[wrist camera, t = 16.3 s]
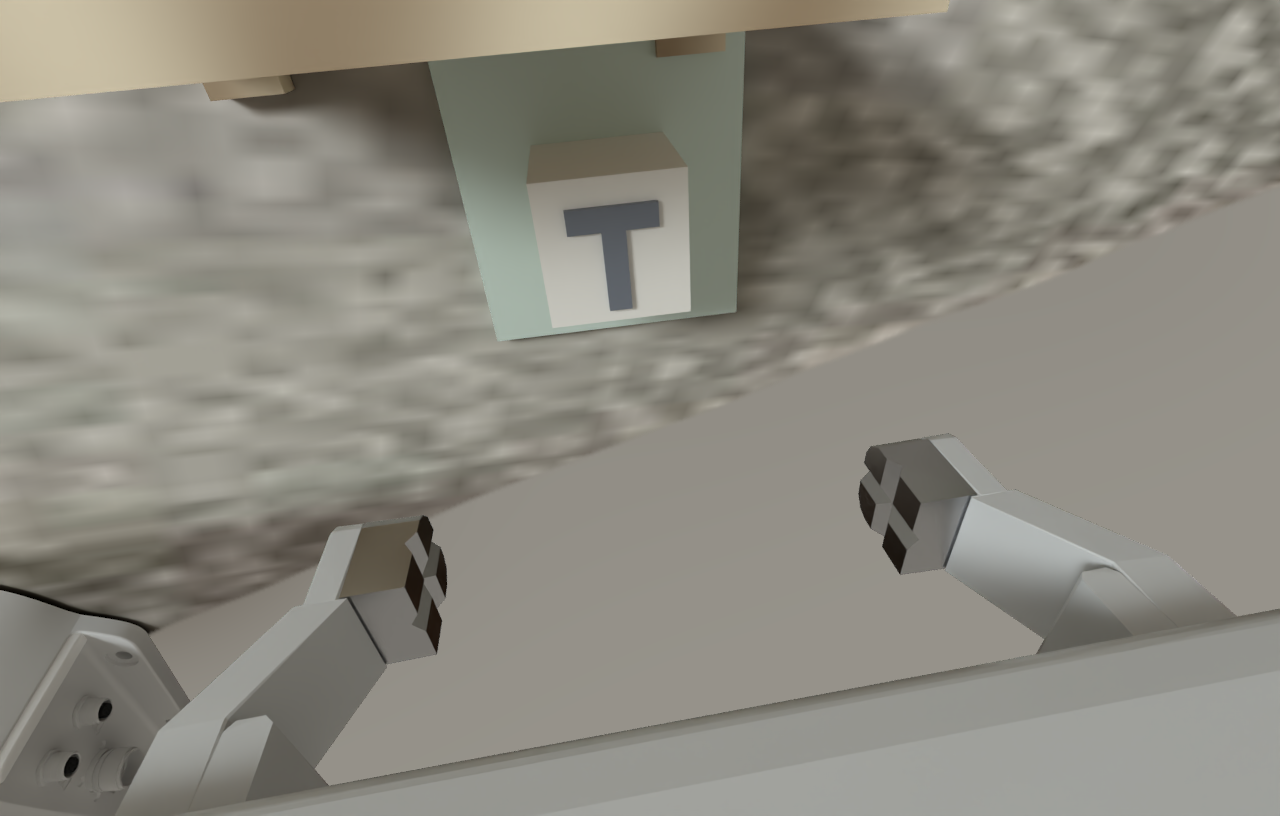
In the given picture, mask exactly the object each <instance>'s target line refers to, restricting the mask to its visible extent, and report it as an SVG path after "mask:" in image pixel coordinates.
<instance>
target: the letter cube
mask: <svg viewBox="0 0 1280 816" xmlns="http://www.w3.org/2000/svg"><path fill="white" fill-rule="evenodd" d="M526 186H527V191H528V197H529V202H530V208H531V213H532V219H533V224H534V230H535V235H536V241H537V246H538V252H539V257H540V263H541V268H542V273H543V279H544V284H545V290H546V295H547V301H548V306H549V312H550V317H551V323H552V328H558V327H567V326H575V325H583V324H591V323H599V322H607V321H616V320H624V319H632V318H640V317H648V316H656V315H665V314H673V313H681V312H689V311H691V295H690V244H689V194H688V166H687V165H686V163H685V162H684V160H683V159H682V158H681V156H680V155H679V153H678V152H677V151H676V149H675V148H674V146H673V145H672V144H671V142H670V141H669V139H668V138H667V137H666V135H665V134H664V132H655V133H646V134H636V135H626V136H617V137H607V138H598V139H588V140H579V141H569V142H560V143H550V144H540V145H531V146H530V154H529V163H528V173H527V182H526Z"/></svg>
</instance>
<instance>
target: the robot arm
mask: <svg viewBox="0 0 1280 816" xmlns="http://www.w3.org/2000/svg"><path fill="white" fill-rule="evenodd" d="M864 463H865V465H866V466H867V468H868V469H869V472H868V473H867V474H866V475H865V476H864V477H863V479H862V480H861V481H860V487H859V493H858V494H859V501H860V508H861V510H862V513H863V516H864V518H865V520H866V522H867V523H868V525H869V527H870V528H871V529H872V530H874V531H876V532H878V533H879V534H881V535H883V536H884V540H883V545H882V547H883V549H884V550H885V552H886V553H887V555H888V557H889V558H890V560H891V561H892V563H893V564H894V566H895V568H896V569H897V571H898V572H899V574H900V575H902V574H909V573H916V572H923V571H930V570H937V569H944V568H946V569H945V571H946V572H948V573H949V574H950V575H952V576H954V577H955V578H956V579H958V580H959V581H961V582H962V583H964V584H965V585H966V586H968V587H969V588H971V589H973V590H974V591H975V592H977V593H978V594H979V595H981V596H982V597H984V598H985V599H987V600H988V601H990V602H991V603H993V604H994V605H996V606H997V607H999V608H1000V609H1001V610H1003V611H1004V612H1006V613H1007V614H1009V615H1010V616H1011V617H1013V618H1014V619H1016V620H1017V621H1019V622H1020V623H1022V624H1023V625H1024V626H1026V627H1027V628H1029V629H1030V630H1032V631H1033V632H1035V633H1036V634H1038V635H1039V636H1040V637H1042V638H1044V641H1043V643H1042V645H1041V646H1040V648H1039V650H1038V652H1037V653H1036V654H1035V655H1030V656H1025V657H1019V658H1013V659H1008V660H1003V661H997V662H992V663H986V664H981V665H976V666H970V667H965V668H960V669H954V670H949V671H944V672H938V673H933V674H927V675H922V676H917V677H911V678H906V679H901V680H895V681H890V682H885V683H880V684H874V685H869V686H864V687H858V688H852V689H848V690H842V691H837V692H831V693H826V694H821V695H815V696H809V697H805V698H799V699H794V700H788V701H783V702H777V703H772V704H766V705H761V706H756V707H750V708H745V709H740V710H734V711H729V712H723V713H718V714H713V715H707V716H702V717H697V718H691V719H686V720H680V721H675V722H670V723H665V724H659V725H654V726H648V727H643V728H637V729H632V730H627V731H621V732H616V733H611V734H605V735H600V736H594V737H589V738H584V739H578V740H573V741H567V742H562V743H557V744H552V745H546V746H541V747H535V748H530V749H525V750H519V751H514V752H509V753H503V754H498V755H492V756H487V757H482V758H476V759H471V760H465V761H460V762H455V763H449V764H444V765H439V766H433V767H428V768H422V769H417V770H412V771H406V772H401V773H396V774H390V775H385V776H380V777H374V778H369V779H364V780H358V781H353V782H347V783H342V784H337V785H331V786H329V785H328V784H327V783H326V782H325V781H324V780H323V778H322V777H321V776H320V775H319V774H318V773H317V772H316V771H315V767H316V766H317V764H318V763H319V761H320V760H321V759H322V757H323V756H324V755H325V753H326V752H327V750H328V749H329V748H330V746H331V745H332V743H333V742H334V741H335V739H336V738H337V736H338V735H339V734H340V732H341V731H342V729H343V728H344V726H345V725H346V724H347V722H348V721H349V720H350V718H351V717H352V715H353V714H354V713H355V711H356V710H357V708H358V707H359V705H360V704H361V703H362V701H363V700H364V699H365V697H366V696H367V694H368V693H369V692H370V690H371V689H372V687H373V686H374V685H375V683H376V682H377V680H378V679H379V678H380V676H381V675H382V673H383V672H384V670H385V669H386V668H387V666H386V664H391V663H396V662H401V661H406V660H411V659H416V658H421V657H426V656H431V655H436V654H437V650H438V644H439V638H440V631H441V625H442V619H441V617H440V614H439V612H438V610H437V608H438V607H439V605H440V604H441V603H442V602H443V601H444V599H445V597H446V589H447V568H446V564H445V559H444V555H443V552H442V550H441V547H440V546H438V545H436V544H435V543H433V542H431V541H432V536H433V528H432V526H431V523H430V521H429V519H428V517H427V516H424V515H421V516H413V517H406V518H398V519H390V520H383V521H375V522H367V523H366V524H357V525H349V526H341V527H337V528H336V529H335V530H334V531H333V532H332V533H331V534H330V536H329V539H328V541H327V544H326V547H325V549H324V552H323V554H322V557H321V560H320V562H319V565H318V567H317V570H316V573H315V575H314V578H313V581H312V583H311V586H310V588H309V591H308V593H307V596H306V599H305V601H304V604H303V605H302V606H296V607H293V608H292V609H291V610H290V611H289V612H288V613H287V614H285V615H284V616H283V617H282V618H281V619H280V620H279V621H278V622H277V623H276V624H275V625H273V626H272V628H270V629H269V630H268V631H267V632H266V633H265V634H264V635H263V636H262V637H260V639H258V640H257V641H256V642H255V643H254V644H253V645H252V646H251V647H250V648H249V649H247V650H246V651H245V652H244V653H243V654H242V655H241V656H240V657H239V658H238V659H237V660H235V661H234V662H233V663H232V664H231V665H230V666H229V667H228V668H227V669H226V670H225V671H223V672H222V673H221V674H220V675H219V676H218V677H217V678H216V679H215V680H214V681H213V682H211V683H210V684H209V685H208V686H207V687H206V688H205V689H204V690H203V691H202V692H201V693H199V694H198V695H197V696H196V697H195V698H194V699H193V700H192V701H191V702H190V700H189V699H188V697H187V696H186V694H185V692H184V691H183V689H182V688H181V686H180V684H179V683H178V681H177V680H176V678H175V676H174V675H173V673H172V672H171V670H170V669H169V667H168V665H167V664H166V662H165V660H164V659H163V657H162V656H161V654H160V652H159V651H158V649H157V648H156V646H155V645H154V643H153V641H152V640H151V638H150V637H149V635H148V633H147V632H146V631H145V630H144V629H142V628H141V627H139V626H137V625H134V624H131V623H128V622H124V621H119V620H113V619H108V618H101V617H95V616H88V615H81V614H77V613H73V612H70V611H67V610H64V609H61V608H58V607H55V606H52V605H49V604H46V603H44V602H41V601H38V600H35V599H32V598H28V597H25V596H22V595H18V594H14V593H10V592H6V591H2V590H0V816H1280V609H1275V610H1270V611H1265V612H1260V613H1254V614H1248V615H1243V616H1238V617H1237V616H1236V615H1235V614H1234V613H1233V612H1231V611H1230V610H1229V609H1228V608H1227V607H1226V606H1225V605H1224V604H1222V603H1221V602H1220V601H1219V600H1218V599H1217V598H1216V597H1215V596H1213V595H1212V594H1211V593H1210V592H1209V591H1208V590H1207V589H1205V588H1204V587H1203V586H1202V585H1201V584H1200V583H1199V582H1198V581H1196V580H1195V579H1194V578H1193V577H1192V576H1191V575H1190V574H1189V573H1187V572H1186V571H1185V570H1184V569H1183V568H1182V567H1181V566H1179V565H1178V564H1177V563H1176V562H1175V561H1174V560H1173V559H1172V558H1170V557H1169V556H1168V555H1166V554H1164V553H1162V552H1159V551H1157V550H1155V549H1153V548H1150V547H1148V546H1146V545H1143V544H1141V543H1139V542H1136V541H1134V540H1132V539H1129V538H1127V537H1125V536H1122V535H1120V534H1118V533H1115V532H1113V531H1111V530H1108V529H1106V528H1104V527H1101V526H1099V525H1097V524H1094V523H1092V522H1090V521H1088V520H1085V519H1083V518H1081V517H1078V516H1076V515H1074V514H1071V513H1069V512H1067V511H1064V510H1062V509H1060V508H1058V507H1055V506H1053V505H1051V504H1048V503H1046V502H1044V501H1041V500H1039V499H1037V498H1034V497H1032V496H1030V495H1027V494H1025V493H1023V492H1020V491H1018V490H1016V489H1015V490H1007V489H1006V488H1005V487H1004V486H1003V485H1002V484H1001V483H1000V482H999V481H998V480H997V479H996V478H995V477H994V476H993V475H992V474H991V473H990V472H989V471H988V470H987V469H986V468H985V467H984V466H983V465H982V464H981V462H980V461H979V460H978V459H977V458H976V457H975V456H974V455H973V454H972V453H971V452H970V451H969V450H968V449H967V448H966V447H965V446H964V445H963V444H962V443H961V442H960V441H959V440H958V439H957V438H956V437H955V436H953V435H951V434H949V433H948V434H942V435H936V436H930V437H924V438H921V439H913V440H907V441H901V442H895V443H888V444H882V445H876V446H871V447H870V448H869V449H868V451H867V452H866V456H865V461H864Z"/></svg>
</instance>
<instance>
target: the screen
mask: <svg viewBox="0 0 1280 816" xmlns="http://www.w3.org/2000/svg"><path fill="white" fill-rule="evenodd" d="M949 1H950V0H0V102H8V101H18V100H29V99H39V98H50V97H60V96H71V95H81V94H92V93H102V92H113V91H123V90H134V89H144V88H155V87H165V86H175V85H186V84H196V83H203V85H204V87H205V90H206V92H207V94H208V96H209V98H210V101H217V100H227V99H237V98H247V97H258V96H268V95H278V94H286V93H288V92H290V91H292V90H294V89H295V87H294V85H293V82H292V79H291V77H290V75H291V74H301V73H312V72H322V71H332V70H343V69H353V68H364V67H374V66H385V65H395V64H406V63H416V62H427V61H437V60H448V59H458V58H469V57H479V56H490V55H500V54H510V53H521V52H531V51H542V50H552V49H563V48H573V47H584V46H594V45H605V44H615V43H626V42H636V41H647V40H655V51H656V57H657V58H658V57H669V56H679V55H689V54H700V53H710V52H720V51H725V46H726V33H730V32H741V31H751V30H762V29H772V28H783V27H793V26H804V25H814V24H824V23H835V22H845V21H856V20H866V19H877V18H887V17H898V16H908V15H919V14H929V13H940V12H947V10H948V6H949Z"/></svg>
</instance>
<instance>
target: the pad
mask: <svg viewBox="0 0 1280 816" xmlns="http://www.w3.org/2000/svg"><path fill="white" fill-rule="evenodd" d="M744 58H745V31H741V32H730V33H726V46H725V51H720V52H710V53H700V54H689V55H679V56H669V57H658V58H657V57H656V51H655V40H647V41H636V42H626V43H615V44H605V45H594V46H584V47H573V48H563V49H552V50H542V51H531V52H521V53H510V54H500V55H490V56H479V57H469V58H458V59H448V60H437V61H428V65H429V69H430V73H431V77H432V81H433V85H434V89H435V93H436V97H437V101H438V105H439V109H440V113H441V117H442V121H443V125H444V129H445V133H446V137H447V141H448V145H449V149H450V153H451V157H452V161H453V165H454V169H455V173H456V177H457V181H458V185H459V189H460V193H461V197H462V201H463V205H464V209H465V213H466V217H467V221H468V225H469V229H470V233H471V237H472V241H473V245H474V249H475V253H476V257H477V261H478V265H479V269H480V273H481V277H482V281H483V285H484V289H485V293H486V297H487V301H488V305H489V309H490V313H491V317H492V321H493V325H494V329H495V333H496V337H497V341H505V340H513V339H522V338H530V337H538V336H546V335H554V334H562V333H570V332H578V331H586V330H595V329H603V328H611V327H619V326H627V325H635V324H643V323H651V322H659V321H668V320H676V319H684V318H692V317H700V316H708V315H716V314H724V313H733V312H736V306H737V275H738V244H739V213H740V182H741V151H742V120H743V89H744ZM655 132H664V134H665V135H666V137H667V138H668V139H669V141H670V142H671V144H672V145H673V146H674V148H675V149H676V151H677V152H678V153H679V155H680V156H681V158H682V159H683V160H684V162H685V163H686V165H687V166H688V194H689V244H690V295H691V311H689V312H681V313H673V314H665V315H656V316H648V317H640V318H632V319H624V320H616V321H607V322H599V323H591V324H583V325H575V326H567V327H558V328H552V323H551V317H550V312H549V306H548V301H547V295H546V290H545V284H544V279H543V273H542V268H541V263H540V257H539V252H538V246H537V241H536V235H535V230H534V224H533V219H532V213H531V208H530V202H529V197H528V191H527V186H526V182H527V173H528V163H529V154H530V146H531V145H540V144H550V143H560V142H569V141H579V140H588V139H598V138H607V137H617V136H626V135H636V134H646V133H655Z"/></svg>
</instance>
